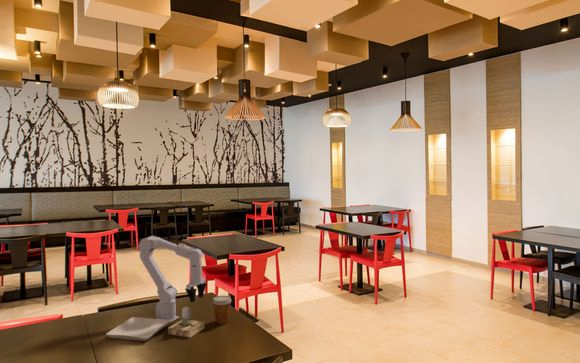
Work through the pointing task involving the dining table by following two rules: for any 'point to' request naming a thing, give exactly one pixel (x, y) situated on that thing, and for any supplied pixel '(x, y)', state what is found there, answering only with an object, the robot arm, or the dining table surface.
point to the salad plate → (138, 328)
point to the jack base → (186, 328)
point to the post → (186, 315)
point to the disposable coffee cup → (221, 308)
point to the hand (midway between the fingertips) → (196, 299)
